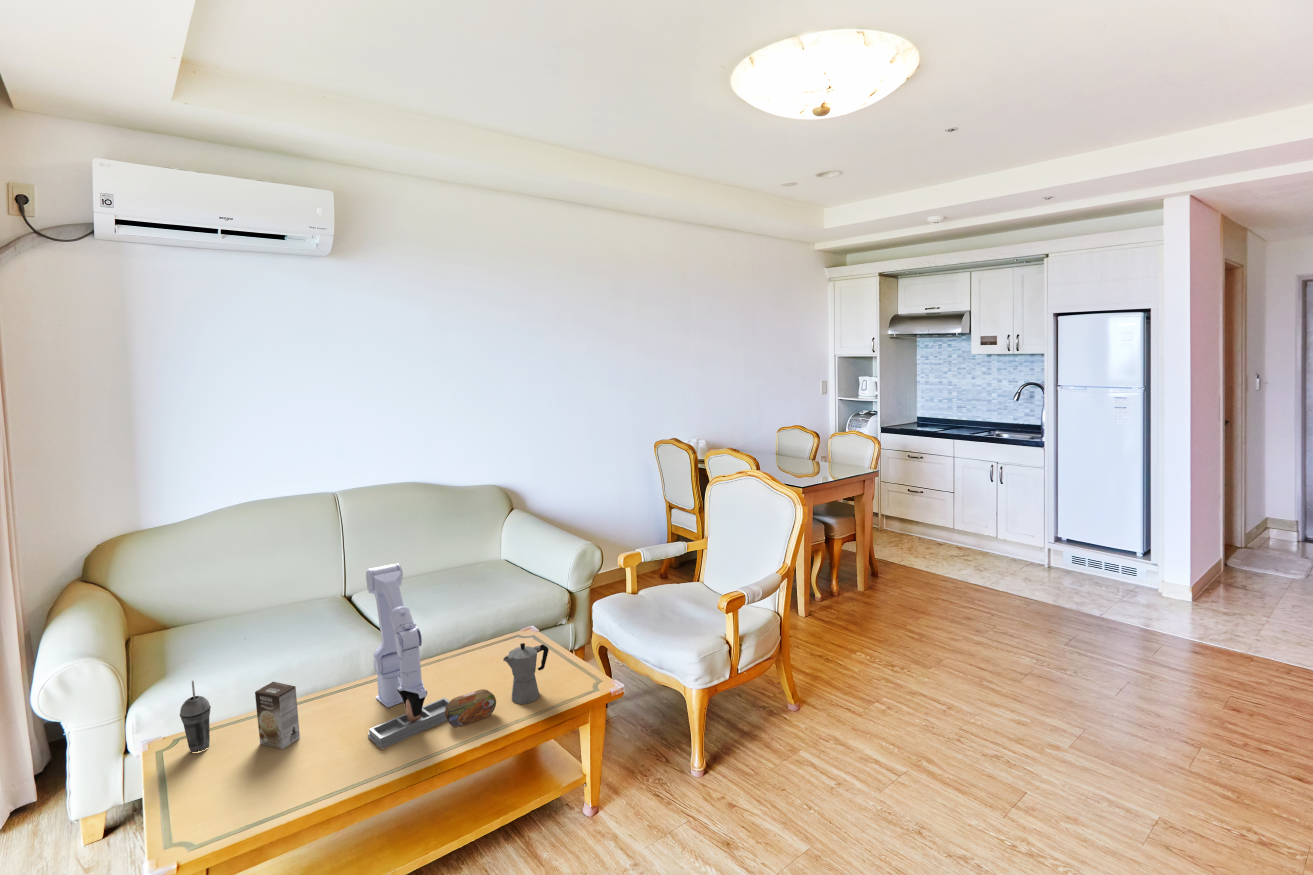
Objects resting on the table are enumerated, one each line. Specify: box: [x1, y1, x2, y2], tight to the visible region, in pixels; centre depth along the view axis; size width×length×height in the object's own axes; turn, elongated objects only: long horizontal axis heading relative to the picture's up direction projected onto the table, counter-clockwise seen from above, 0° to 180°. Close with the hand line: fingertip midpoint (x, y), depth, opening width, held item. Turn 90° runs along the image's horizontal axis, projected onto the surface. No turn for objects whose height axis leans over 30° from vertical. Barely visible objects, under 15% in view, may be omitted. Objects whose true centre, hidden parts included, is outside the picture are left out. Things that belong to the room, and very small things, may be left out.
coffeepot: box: [503, 642, 550, 705], centre depth 213 cm, size 15×9×18 cm, turn 125°
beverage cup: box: [179, 680, 212, 752], centre depth 188 cm, size 7×7×20 cm
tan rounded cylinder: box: [405, 699, 421, 722], centre depth 197 cm, size 4×4×7 cm
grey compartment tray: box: [367, 697, 451, 750], centre depth 198 cm, size 9×24×3 cm, turn 136°
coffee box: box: [254, 681, 301, 750], centre depth 191 cm, size 9×6×16 cm
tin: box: [445, 688, 497, 728], centre depth 200 cm, size 15×3×8 cm, turn 123°
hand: (413, 712), depth 198 cm, fingers closed on tan rounded cylinder, 4 cm apart
